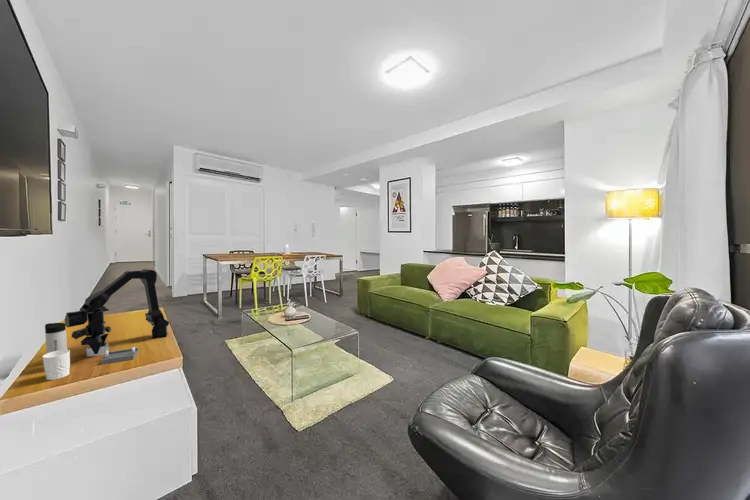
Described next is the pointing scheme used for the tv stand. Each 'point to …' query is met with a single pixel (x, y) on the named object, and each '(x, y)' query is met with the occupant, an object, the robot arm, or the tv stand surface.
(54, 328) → the travel mug
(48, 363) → the white cup
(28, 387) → the tv stand surface
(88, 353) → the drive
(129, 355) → the tray
